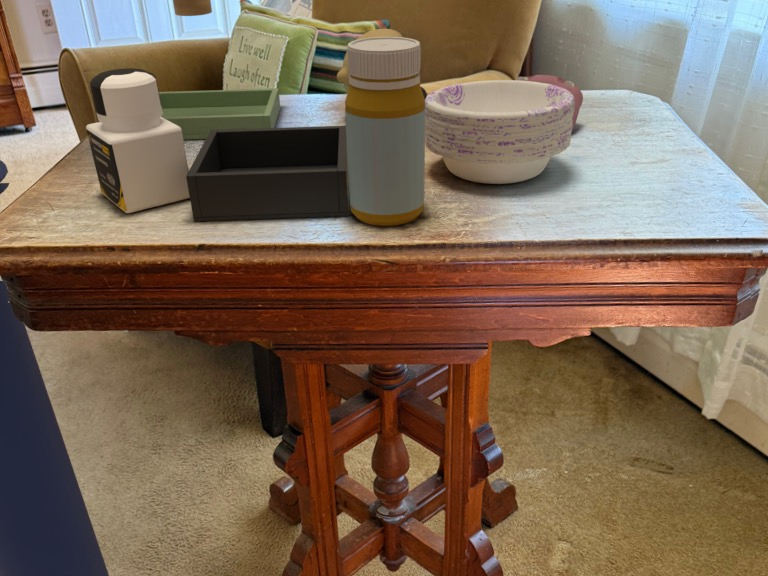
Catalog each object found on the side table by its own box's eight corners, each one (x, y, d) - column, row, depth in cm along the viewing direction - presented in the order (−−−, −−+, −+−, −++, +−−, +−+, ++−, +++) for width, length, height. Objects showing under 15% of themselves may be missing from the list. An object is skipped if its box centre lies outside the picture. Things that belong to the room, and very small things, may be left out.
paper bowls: (424, 149, 88) (425, 77, 83) (556, 148, 87) (564, 75, 82) (422, 196, 75) (423, 115, 71) (576, 196, 74) (587, 113, 70)
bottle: (418, 230, 68) (418, 52, 60) (343, 225, 70) (333, 51, 61) (428, 201, 74) (430, 36, 66) (359, 198, 75) (352, 35, 67)
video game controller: (577, 141, 94) (590, 83, 93) (569, 133, 90) (583, 72, 89) (502, 132, 98) (513, 76, 97) (491, 124, 94) (503, 65, 92)
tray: (128, 141, 93) (124, 119, 91) (152, 111, 104) (148, 92, 103) (272, 136, 93) (269, 115, 92) (280, 107, 104) (278, 88, 103)
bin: (193, 221, 71) (185, 175, 69) (216, 170, 83) (210, 129, 81) (348, 216, 71) (346, 170, 69) (348, 165, 84) (346, 125, 81)
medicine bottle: (101, 194, 78) (71, 71, 71) (166, 179, 81) (143, 60, 74) (126, 215, 73) (96, 85, 66) (194, 198, 76) (173, 72, 69)
